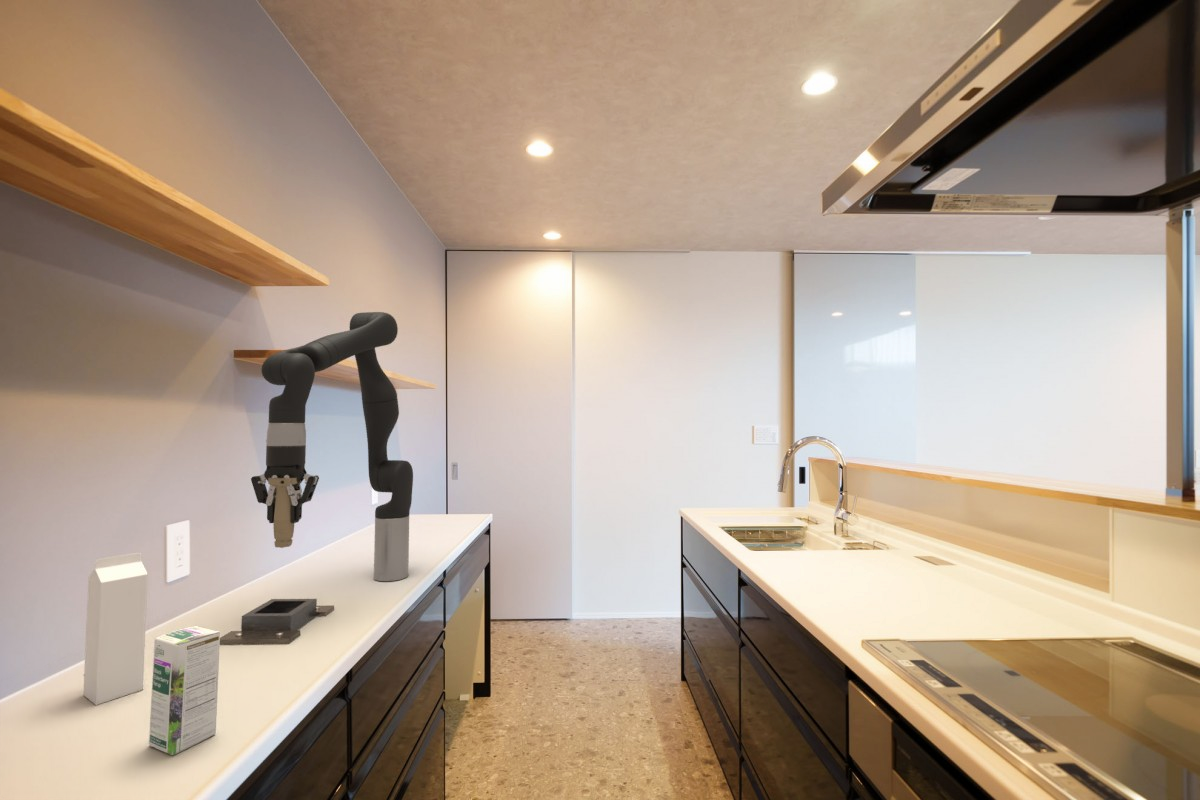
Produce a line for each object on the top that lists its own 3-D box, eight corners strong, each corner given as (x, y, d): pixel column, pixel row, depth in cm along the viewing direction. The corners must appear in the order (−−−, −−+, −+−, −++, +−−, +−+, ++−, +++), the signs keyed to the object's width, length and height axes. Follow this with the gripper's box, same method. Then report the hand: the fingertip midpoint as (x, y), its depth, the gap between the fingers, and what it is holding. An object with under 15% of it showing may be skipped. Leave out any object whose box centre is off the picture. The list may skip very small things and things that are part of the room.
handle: (296, 548, 117) (298, 478, 118) (263, 549, 115) (265, 478, 116) (302, 543, 122) (304, 476, 122) (270, 545, 120) (272, 476, 121)
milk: (82, 695, 88) (87, 557, 89) (130, 680, 93) (134, 549, 94) (95, 706, 84) (101, 562, 85) (144, 689, 89) (148, 554, 90)
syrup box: (146, 746, 74) (150, 637, 74) (193, 724, 79) (197, 623, 80) (171, 757, 71) (175, 644, 72) (218, 733, 77) (222, 629, 78)
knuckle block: (273, 610, 128) (274, 592, 128) (334, 609, 128) (334, 592, 128) (216, 644, 108) (217, 624, 108) (288, 644, 108) (289, 623, 108)
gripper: (327, 443, 124) (325, 519, 123) (263, 443, 123) (260, 519, 122) (311, 444, 116) (308, 525, 115) (242, 444, 116) (240, 525, 115)
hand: (284, 522), depth 119 cm, fingers closed on handle, 4 cm apart
